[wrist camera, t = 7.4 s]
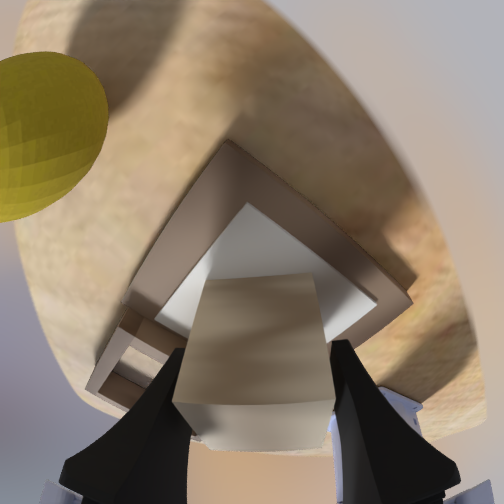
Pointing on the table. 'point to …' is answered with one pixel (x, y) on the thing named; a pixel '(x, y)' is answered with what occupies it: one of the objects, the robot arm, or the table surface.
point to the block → (257, 366)
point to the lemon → (46, 129)
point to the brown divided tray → (243, 267)
